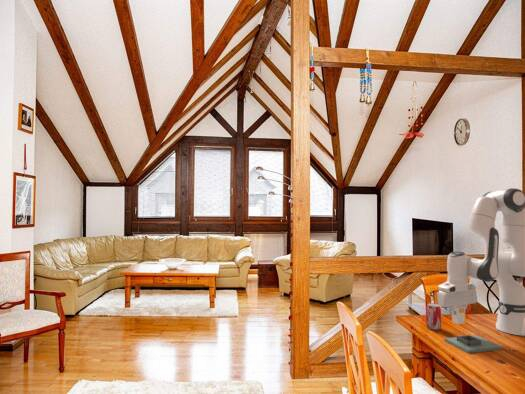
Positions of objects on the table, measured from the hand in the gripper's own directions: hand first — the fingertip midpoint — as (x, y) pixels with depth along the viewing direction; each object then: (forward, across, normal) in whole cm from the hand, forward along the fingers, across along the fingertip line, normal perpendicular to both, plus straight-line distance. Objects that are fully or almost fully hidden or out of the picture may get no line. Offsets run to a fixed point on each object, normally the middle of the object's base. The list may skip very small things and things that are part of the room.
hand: (458, 313), depth 179 cm
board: (+10, +4, +12) cm, 16 cm away
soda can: (+10, +5, -11) cm, 16 cm away
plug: (+4, 0, 0) cm, 4 cm away
